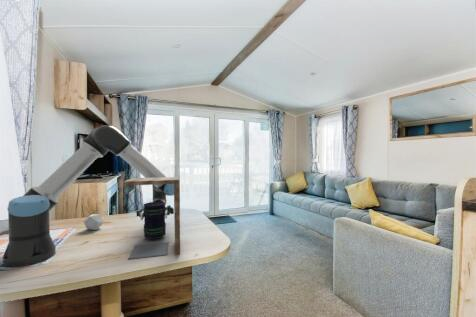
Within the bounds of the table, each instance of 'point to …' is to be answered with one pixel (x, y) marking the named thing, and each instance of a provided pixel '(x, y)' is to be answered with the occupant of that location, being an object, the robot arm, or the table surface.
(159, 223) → the rusty oil drum
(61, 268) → the table surface
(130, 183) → the wooden gallows frame
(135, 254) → the pad
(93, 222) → the die
